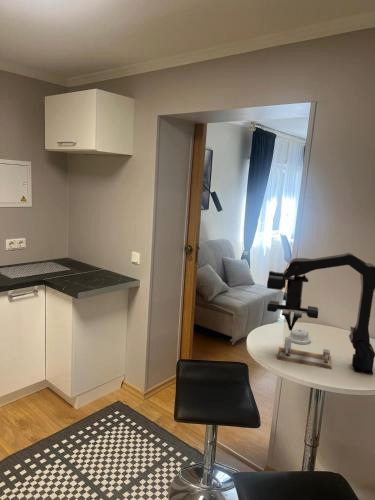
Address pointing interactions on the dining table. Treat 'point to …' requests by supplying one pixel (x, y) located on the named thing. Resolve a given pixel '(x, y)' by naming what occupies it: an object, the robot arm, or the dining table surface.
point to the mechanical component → (300, 336)
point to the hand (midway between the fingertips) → (290, 330)
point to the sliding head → (287, 345)
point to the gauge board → (306, 357)
